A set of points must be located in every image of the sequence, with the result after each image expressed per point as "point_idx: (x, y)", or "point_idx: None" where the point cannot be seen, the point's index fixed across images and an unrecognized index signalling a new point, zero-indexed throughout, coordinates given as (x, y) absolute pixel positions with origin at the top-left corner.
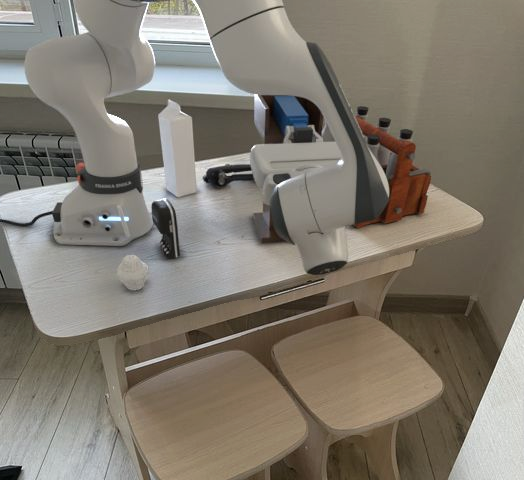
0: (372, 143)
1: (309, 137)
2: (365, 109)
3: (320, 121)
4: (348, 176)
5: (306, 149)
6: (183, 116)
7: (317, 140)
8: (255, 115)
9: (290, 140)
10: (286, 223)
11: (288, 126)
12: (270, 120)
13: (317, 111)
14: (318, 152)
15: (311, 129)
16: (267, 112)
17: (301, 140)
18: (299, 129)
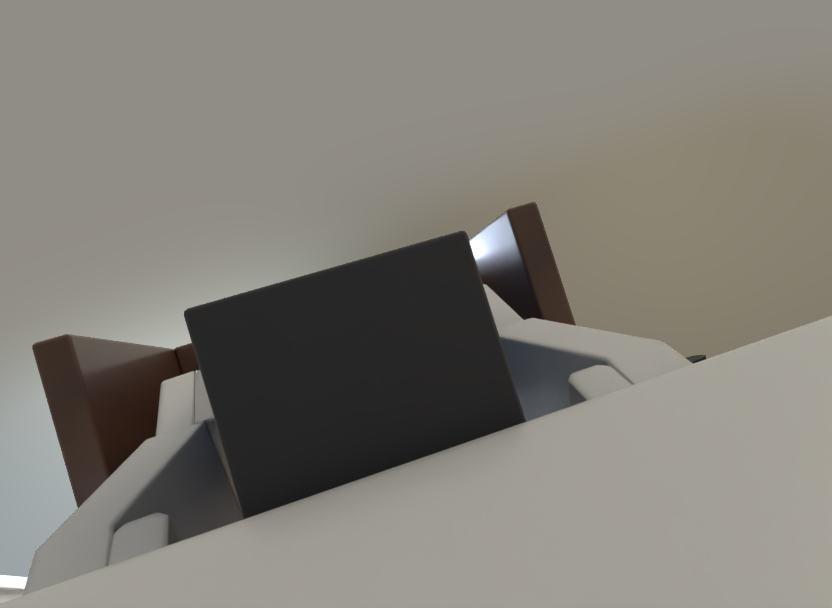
0: None
1: (452, 364)
2: (697, 359)
3: (550, 312)
4: None
5: (445, 590)
6: (9, 598)
7: (604, 383)
8: None
9: (155, 522)
10: None
11: (183, 376)
12: None
13: (501, 272)
14: (784, 562)
15: (437, 239)
16: (59, 368)
17: (329, 455)
18: (239, 297)
